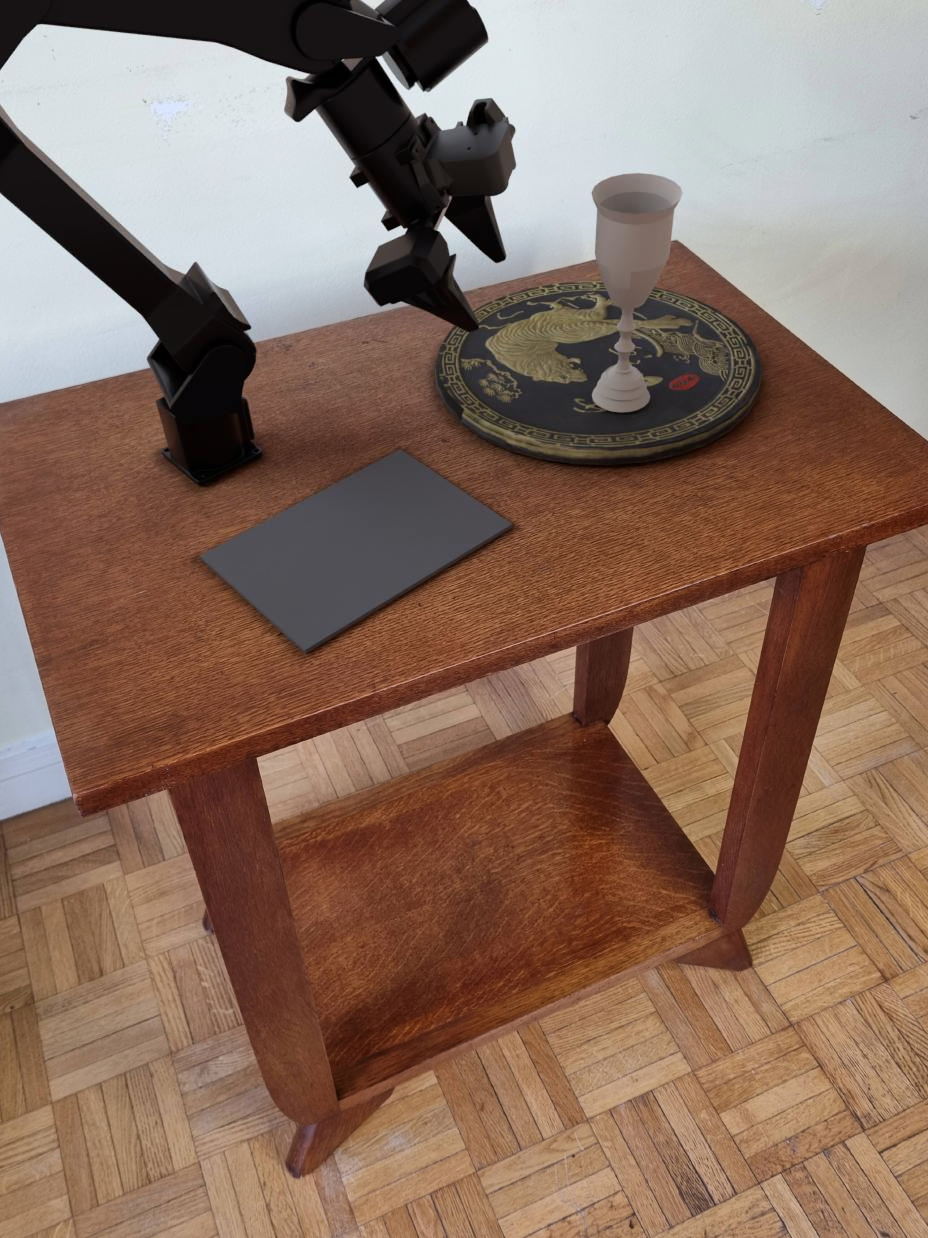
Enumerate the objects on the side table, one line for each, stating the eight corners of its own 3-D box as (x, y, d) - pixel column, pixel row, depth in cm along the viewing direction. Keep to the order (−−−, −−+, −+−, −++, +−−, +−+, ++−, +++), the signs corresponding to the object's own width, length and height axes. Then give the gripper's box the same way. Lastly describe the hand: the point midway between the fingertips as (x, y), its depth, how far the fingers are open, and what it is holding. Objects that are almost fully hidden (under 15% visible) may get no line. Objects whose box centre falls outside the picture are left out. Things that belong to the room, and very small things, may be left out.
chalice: (598, 367, 99) (610, 167, 86) (671, 382, 96) (694, 180, 84) (569, 409, 94) (577, 205, 81) (645, 426, 92) (665, 219, 79)
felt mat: (305, 654, 77) (305, 650, 76) (200, 559, 84) (199, 555, 84) (512, 527, 86) (512, 523, 85) (400, 452, 93) (400, 448, 93)
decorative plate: (835, 372, 96) (565, 495, 85) (831, 391, 98) (565, 514, 87) (619, 251, 115) (374, 339, 104) (618, 268, 116) (376, 356, 105)
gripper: (429, 160, 72) (546, 337, 81) (497, 22, 82) (593, 194, 91) (307, 221, 78) (429, 378, 88) (385, 86, 89) (486, 240, 98)
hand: (488, 293), depth 91 cm, fingers open, 9 cm apart
